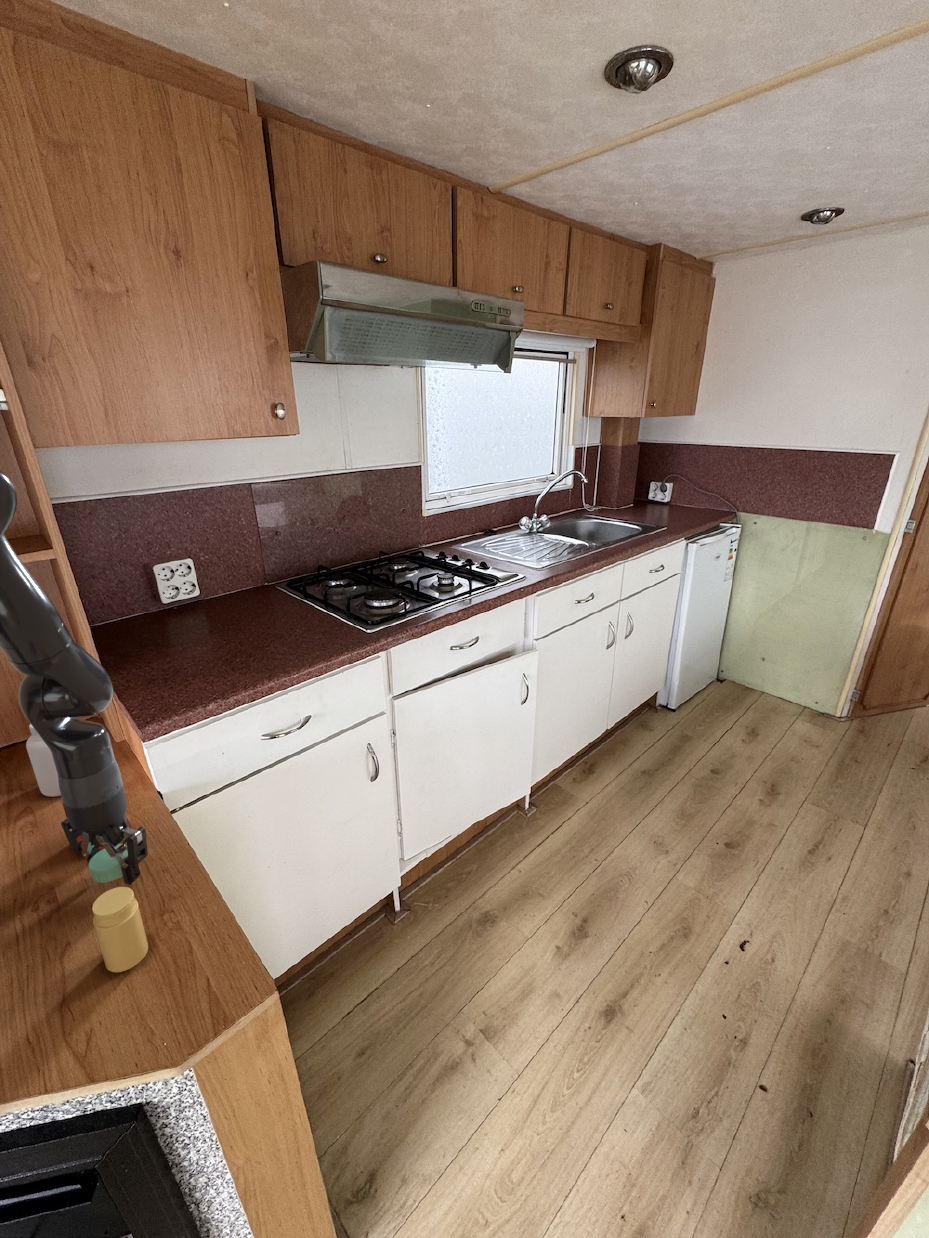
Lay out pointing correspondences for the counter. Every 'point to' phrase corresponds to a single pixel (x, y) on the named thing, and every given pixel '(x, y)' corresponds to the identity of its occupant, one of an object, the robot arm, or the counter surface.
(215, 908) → the counter surface
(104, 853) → the lid
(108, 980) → the counter surface
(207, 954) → the counter surface
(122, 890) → the jar
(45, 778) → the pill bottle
